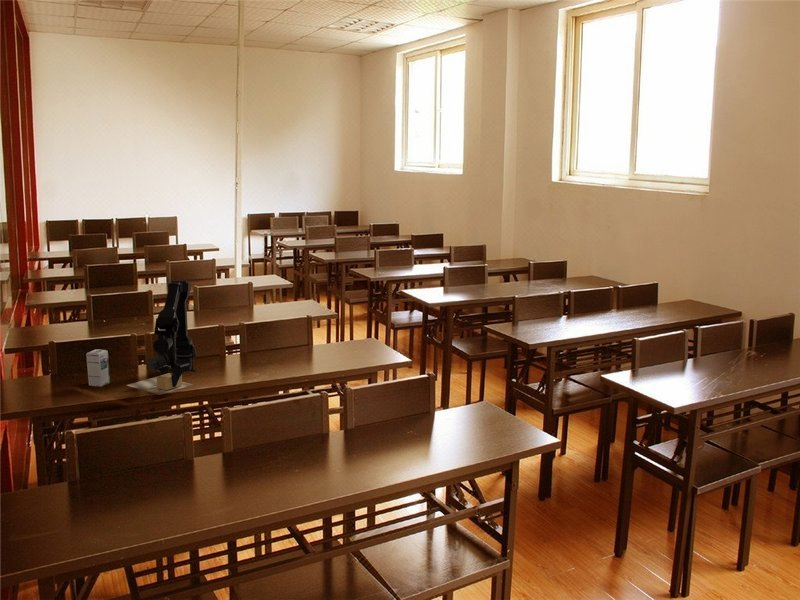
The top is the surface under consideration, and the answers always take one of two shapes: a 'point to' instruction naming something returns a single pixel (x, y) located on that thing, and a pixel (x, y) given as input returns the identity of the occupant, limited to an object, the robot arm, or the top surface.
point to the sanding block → (167, 382)
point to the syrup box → (98, 367)
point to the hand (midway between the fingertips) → (169, 385)
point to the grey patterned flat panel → (154, 386)
